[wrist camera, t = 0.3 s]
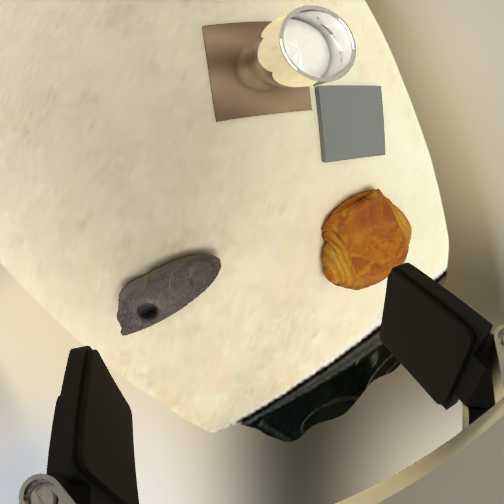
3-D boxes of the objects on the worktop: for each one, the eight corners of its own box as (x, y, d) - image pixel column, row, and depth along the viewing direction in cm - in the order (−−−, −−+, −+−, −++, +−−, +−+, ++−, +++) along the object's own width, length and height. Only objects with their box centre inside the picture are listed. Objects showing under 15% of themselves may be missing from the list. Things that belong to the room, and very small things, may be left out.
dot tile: (202, 26, 29) (202, 25, 29) (298, 22, 32) (299, 21, 31) (216, 121, 35) (217, 121, 34) (310, 109, 37) (311, 109, 37)
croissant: (391, 247, 53) (424, 265, 46) (323, 293, 49) (355, 318, 43) (381, 171, 46) (421, 182, 39) (303, 212, 42) (340, 231, 35)
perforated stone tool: (208, 235, 40) (218, 258, 34) (224, 268, 43) (236, 294, 37) (107, 285, 39) (101, 315, 33) (128, 314, 41) (125, 346, 35)
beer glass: (244, 31, 30) (295, -12, 17) (295, 55, 33) (368, 31, 20) (221, 81, 32) (262, 59, 19) (275, 103, 35) (342, 99, 22)
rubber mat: (314, 86, 36) (318, 86, 35) (376, 86, 38) (380, 86, 37) (322, 161, 40) (325, 162, 39) (381, 153, 42) (385, 154, 41)
